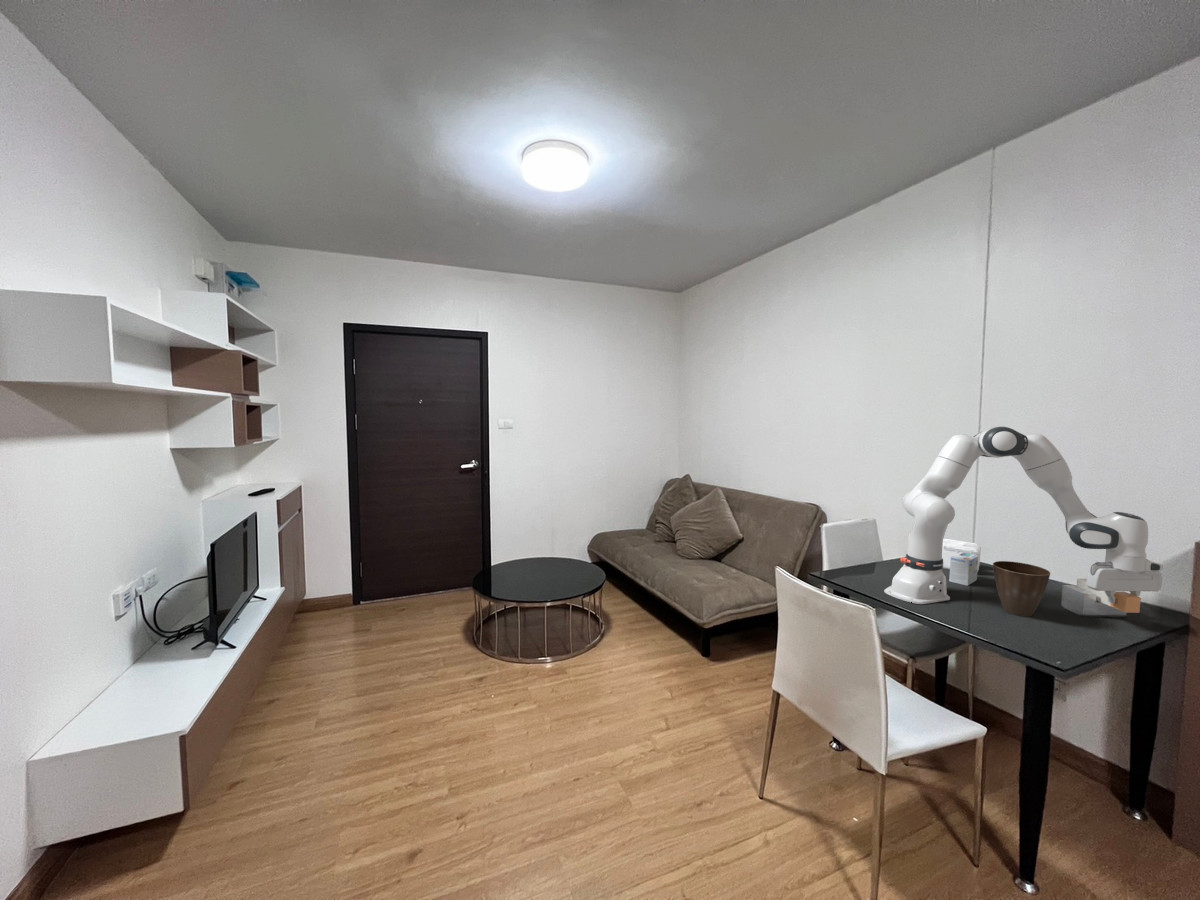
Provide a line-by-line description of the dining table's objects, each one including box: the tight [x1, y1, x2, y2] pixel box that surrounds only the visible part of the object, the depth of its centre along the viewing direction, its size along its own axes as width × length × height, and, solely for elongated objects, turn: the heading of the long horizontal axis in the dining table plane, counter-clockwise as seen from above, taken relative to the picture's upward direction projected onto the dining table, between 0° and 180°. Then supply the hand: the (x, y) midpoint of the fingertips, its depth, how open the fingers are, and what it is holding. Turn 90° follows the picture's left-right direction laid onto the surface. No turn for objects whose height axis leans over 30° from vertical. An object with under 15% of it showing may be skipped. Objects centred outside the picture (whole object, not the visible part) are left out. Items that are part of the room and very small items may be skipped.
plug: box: [1076, 578, 1142, 614], centre depth 159 cm, size 17×4×5 cm, turn 177°
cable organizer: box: [942, 538, 982, 573], centre depth 208 cm, size 15×11×12 cm
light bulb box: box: [948, 552, 978, 586], centre depth 194 cm, size 11×7×11 cm, turn 126°
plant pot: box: [992, 560, 1051, 617], centre depth 164 cm, size 15×15×16 cm
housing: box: [1060, 584, 1127, 618], centre depth 164 cm, size 8×14×8 cm, turn 87°
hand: (1121, 603), depth 154 cm, fingers closed on plug, 4 cm apart
